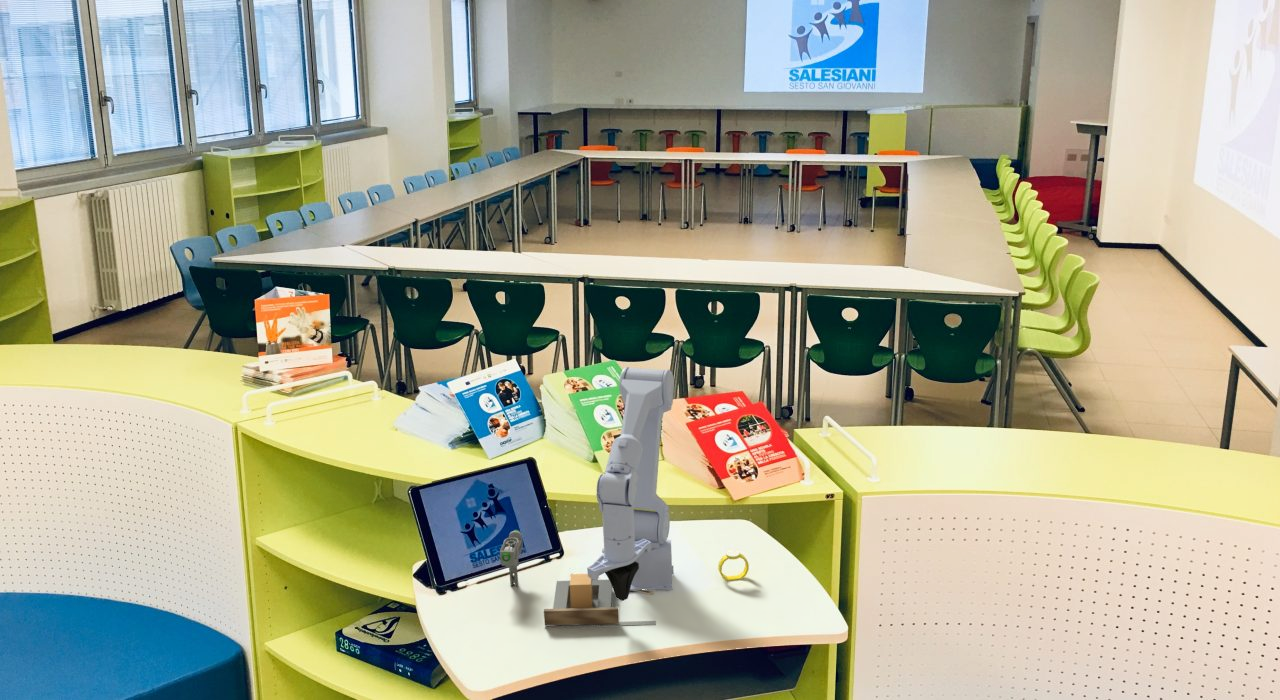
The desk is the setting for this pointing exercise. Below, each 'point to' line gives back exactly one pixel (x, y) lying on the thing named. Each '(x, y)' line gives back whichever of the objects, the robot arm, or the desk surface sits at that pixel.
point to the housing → (600, 599)
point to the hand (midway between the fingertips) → (621, 597)
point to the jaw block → (581, 591)
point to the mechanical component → (512, 554)
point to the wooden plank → (581, 616)
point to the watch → (733, 555)
